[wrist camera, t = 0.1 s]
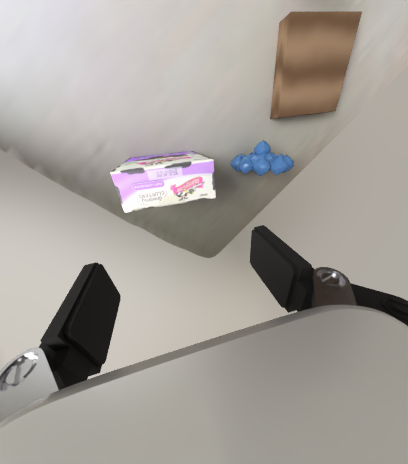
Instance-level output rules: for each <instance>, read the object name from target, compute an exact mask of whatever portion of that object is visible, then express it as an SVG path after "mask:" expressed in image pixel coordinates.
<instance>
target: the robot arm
mask: <svg viewBox="0 0 408 464" xmlns="http://www.w3.org/2000/svg"><path fill="white" fill-rule="evenodd" d="M250 263H251V265H252V267H253V268H254V269H255V271H256V272H257V274H258V275H259V277H260V278H261V279H262V281H263V282H264V283H265V285H266V286H267V288H268V289H269V290H270V292H271V293H272V294H273V296H274V297H275V299H276V300H277V301H278V303H279V304H280V306H281V307H283V308H285V309H286V310H287V312H291V311H295V310H297V311H298V312H296V313H293V314H290V315H286V316H283V317H279V318H276V319H273V320H270V321H267V322H264V323H261V324H257V325H254V326H251V327H248V328H245V329H241V330H238V331H235V332H232V333H229V334H226V335H223V336H219V337H216V338H213V339H210V340H207V341H204V342H200V343H197V344H194V345H191V346H188V347H185V348H182V349H179V350H176V351H173V352H170V353H166V354H163V355H160V356H157V357H154V358H151V359H148V360H145V361H142V362H139V363H136V364H133V365H130V366H127V367H124V368H121V369H117V370H114V371H111V372H109V373H106V374H103V375H100V376H97V377H94V378H91V379H88V380H87V378H88V376H91V375H94V374H97V373H100V370H101V366H102V364H104V363H105V361H106V357H107V353H108V349H109V345H110V340H111V337H112V332H113V328H114V324H115V320H116V316H117V312H118V307H119V303H120V294H119V292H118V290H117V289H116V287H115V285H114V284H113V282H112V280H111V278H110V277H109V275H108V273H107V272H106V270H105V269H104V267H103V265H102V264H98V263H93V264H88V265H85V266H84V267H83V269H82V271H81V272H80V274H79V276H78V277H77V279H76V281H75V282H74V284H73V286H72V288H71V289H70V291H69V293H68V294H67V296H66V298H65V300H64V301H63V303H62V305H61V307H60V308H59V310H58V312H57V313H56V315H55V317H54V318H53V320H52V322H51V324H50V325H49V327H48V329H47V330H46V332H45V334H44V336H43V337H42V339H41V342H42V343H41V345H40V346H39V348H37V347H36V348H31V349H28V350H26V351H24V352H22V353H21V354H19V355H17V356H16V357H15V358H13V359H12V360H11V361H10V362H9V363H7V364H6V365H5V367H3V369H2V370H1V371H0V464H408V301H406V300H404V299H402V298H400V297H397V296H394V295H390V294H387V293H383V292H380V291H376V290H373V289H369V288H365V287H362V286H358V285H354V284H351V283H350V281H349V280H348V278H347V277H346V276H345V275H344V274H342V273H341V272H339V271H337V270H335V269H332V268H328V267H319V268H316V269H314V268H312V265H311V264H310V263H308V262H307V261H306V260H304V259H303V258H302V257H301V256H300V255H299V254H298V253H296V252H295V251H294V250H293V249H292V248H290V247H289V246H288V245H287V244H286V243H284V242H283V241H282V240H281V239H280V238H278V237H277V236H276V235H275V234H274V233H272V232H271V231H270V230H269V229H268V228H267V227H265V226H263V225H262V226H258V227H255V228H254V230H252V237H251V252H250Z"/></svg>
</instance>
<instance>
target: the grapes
mask: <svg viewBox="0 0 408 464" xmlns="http://www.w3.org/2000/svg"><path fill="white" fill-rule="evenodd" d="M270 151H271V148H270V146H269V144H268V143H266V142H265V141H264V140H263V141H262V142H260V143H259V144H257V145H256V147H255V148H254V152H255V153H250V154H249V155H248V156H244V155H243V154H241V155H238V156H237V157H235V158H234V159H233V160H232V161H231V166H232V167H233V168H234V169H235V170H236V171H237V172H238V171H239V170H240V171H241V172H243V173H244V174H246V173H248V172H249V171H251V170H252V171H254V172H255V173H256V174H258V175H260V176H261V175H263V174H265V173H266V172H268V171H269V170H271V171H272V172H273V173H274V174H275V175H278V174H280V173H284V172H286V171H288V170H290V169H291V168H292V167H293V166H294V161H293V160H292V159H291V158H290V157H289V156H287V155H286V156H283V155H282V154H280V155H278V156H276V155H275V154H274V153H269V152H270Z"/></svg>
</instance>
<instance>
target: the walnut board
mask: <svg viewBox="0 0 408 464" xmlns="http://www.w3.org/2000/svg"><path fill="white" fill-rule="evenodd" d="M361 14H362V12H291V13H289V14H288V15H287V16H286V17H285V18H284V19H283V20H282V21H281V22H280V24H279V34H278V45H277V55H276V65H275V75H274V86H273V96H272V106H271V116H270V119H272V118H281V117H290V116H299V115H308V114H317V113H325V112H332V111H336V107H337V103H338V100H339V96H340V92H341V88H342V85H343V81H344V77H345V73H346V70H347V66H348V62H349V58H350V55H351V51H352V47H353V44H354V40H355V36H356V32H357V29H358V25H359V21H360V17H361Z"/></svg>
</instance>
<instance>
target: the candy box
mask: <svg viewBox="0 0 408 464" xmlns="http://www.w3.org/2000/svg"><path fill="white" fill-rule="evenodd" d="M110 174H111V176H112V178H113V181H114V184H115V187H116V190H117V192H118V195H119V198H120V201H121V204H122V207H123V210H124V212H125V213H127V212H132V211H136V210H141V209H148V208H154V207H161V206H168V205H174V204H180V203H187V202H193V201H198V200H205V199H212V198H216V192H215V175H214V159H211V158H208V157H206V156H203V155H200V154H198V153H196V152H194V151H189V152H180V153H171V154H161V155H152V156H143V157H134V158H129V159H128V160H127V161H125V162H124V163H123V164H121V165H120V166H119V167H117V168H116V169H114V170H113V171H112V172H110Z"/></svg>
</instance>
